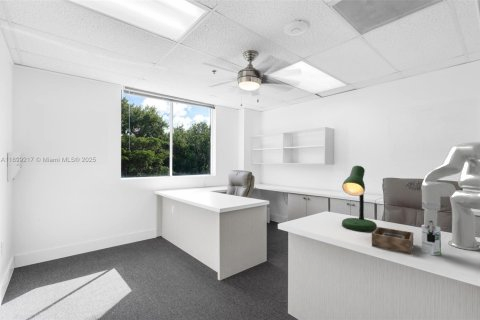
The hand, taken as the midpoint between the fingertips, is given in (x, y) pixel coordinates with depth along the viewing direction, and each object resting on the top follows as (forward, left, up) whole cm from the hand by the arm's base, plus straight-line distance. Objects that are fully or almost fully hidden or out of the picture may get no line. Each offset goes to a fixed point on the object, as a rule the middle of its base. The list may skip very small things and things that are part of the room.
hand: (431, 239), depth 122 cm
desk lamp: (+41, -23, -7) cm, 48 cm away
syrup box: (0, 0, -7) cm, 7 cm away
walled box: (+17, 0, -7) cm, 18 cm away
